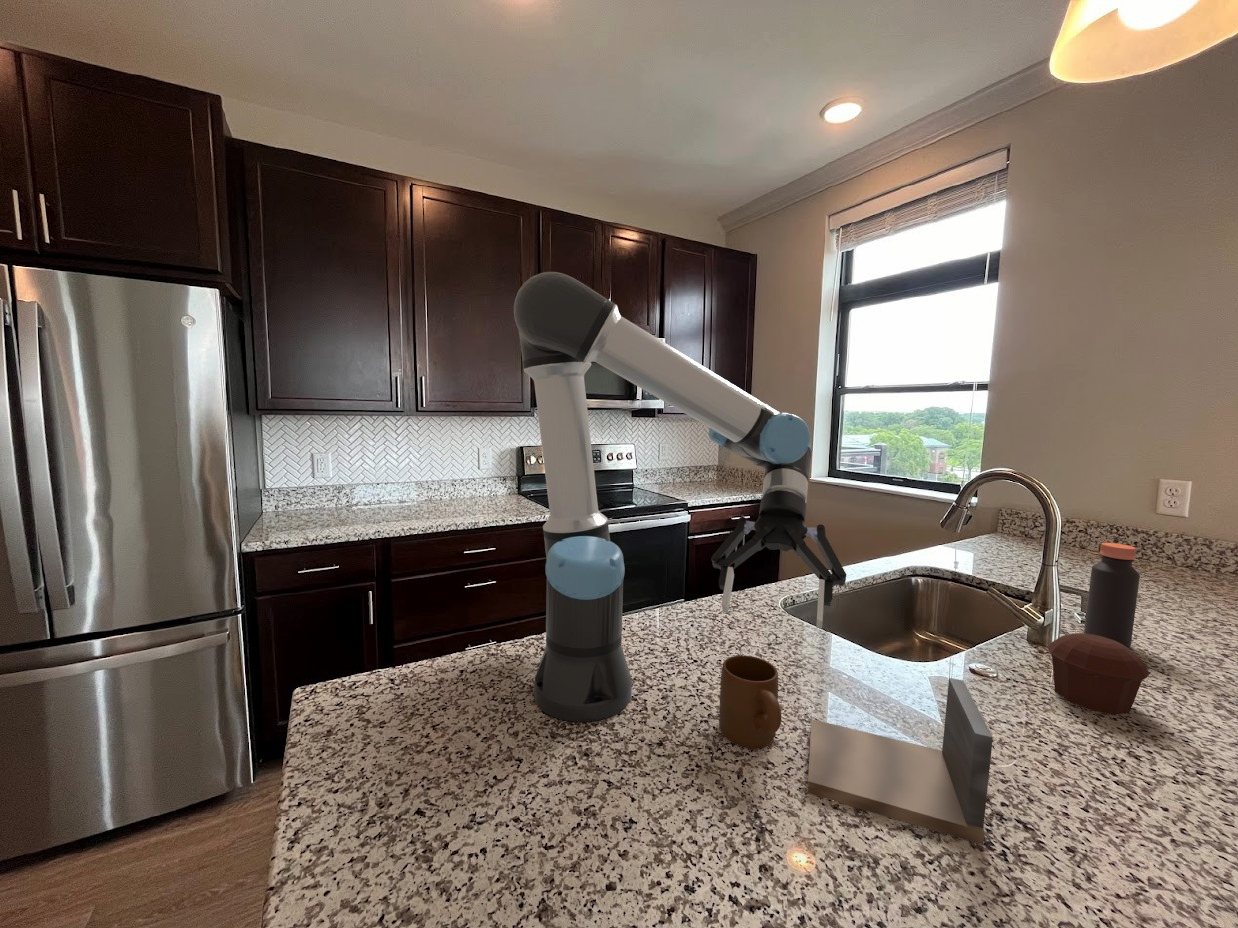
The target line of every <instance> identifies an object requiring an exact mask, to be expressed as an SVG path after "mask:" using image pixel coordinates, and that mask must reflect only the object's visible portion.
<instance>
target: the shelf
mask: <svg viewBox="0 0 1238 928" xmlns="http://www.w3.org/2000/svg"><path fill="white" fill-rule="evenodd" d="M947 684H948V685H947V695H946V706H945V719H944V726H943V738H942V748H941V749H938V748H934V747H929V746H925V745H921V744H916V743H914V742H907V741H904V740H900V739H895V738H891V737H888V736H883V735H880V734H875V733H870V732H868V731H867V732H866V731H862V730H858V729H855V728H850V727H846V726H841V725H838V724H834V723H831V722H830V723H829V722H825V721H821V720H816V719H814V718H812V719H810V720H811V721H810V722H811V723H810V737H809V757H808V758H809V759H808V771H807V772H808V775H807V776H808V778H807V794H809V795H812V796H815V797H819V798H823V799H825V798H826V800H829V799H830V800H829V801H832V800H834V801H833V802H836V803H840V804H843V805H846V806H849V805H850V807H853V808H857V809H859V810H860V809H861V810H863V811H867V812H870V813H873V814H877V815H880V816H883V817H888V818H891V819H894V820H897V821H900V822H904V823H907V824H909V825H912V826H913V825H914V826H917V827H921V828H924V829H927V830H931V831H934V832H937V833H941V834H945V835H949V836H951V837H954V838H957V839H961V840H964V841H968V842H971V843H975V844H978V845H981V846H984V844H985V843H984V841H985V834H986V831H985V829H984V826H985V816H986V808H987V807H986V806H987V797H988V788H989V787H988V786H989V777H990V769H991V768H990V767H991V758H992V748H993V739H994V737H993V734H992V733H991V731H990V729H989V728H988V725H987V723H986V721H985V720H984V718H983V716H982V714H981V712H980V709H979V708H978V706H977V704H976V702H975V700H974V699H973V696H972V694H971V692H970V691H969V689H968V686H967V685H966V682H965V681H964V680H962V679H957V678H952V677H948V683H947Z"/></svg>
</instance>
